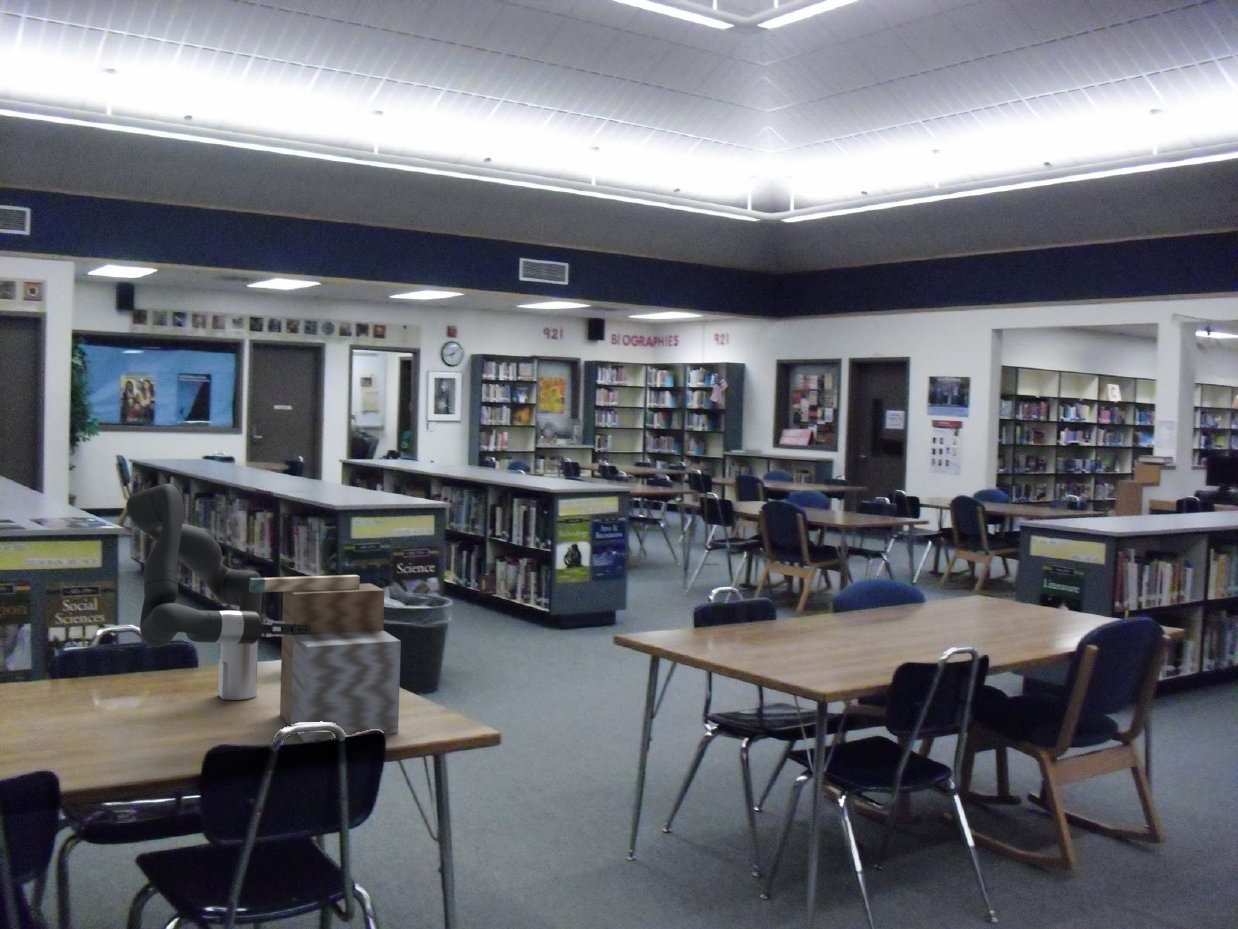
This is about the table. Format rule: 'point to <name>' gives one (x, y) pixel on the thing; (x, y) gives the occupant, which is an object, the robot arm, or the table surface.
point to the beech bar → (303, 583)
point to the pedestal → (340, 662)
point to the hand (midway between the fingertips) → (301, 629)
